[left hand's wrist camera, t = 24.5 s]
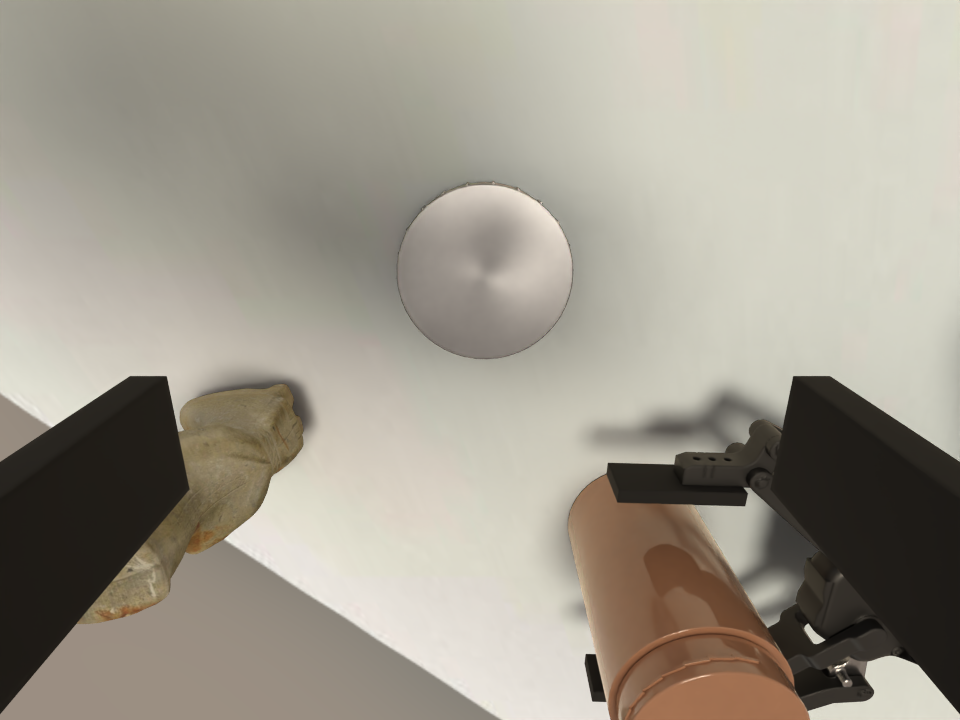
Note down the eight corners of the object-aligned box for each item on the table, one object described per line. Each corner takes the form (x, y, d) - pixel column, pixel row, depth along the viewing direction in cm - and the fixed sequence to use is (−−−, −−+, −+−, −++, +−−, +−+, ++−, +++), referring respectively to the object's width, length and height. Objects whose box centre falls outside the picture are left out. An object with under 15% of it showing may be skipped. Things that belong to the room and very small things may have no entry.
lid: (543, 362, 35) (547, 376, 33) (387, 326, 34) (380, 338, 32) (589, 205, 32) (597, 208, 30) (419, 162, 31) (414, 162, 29)
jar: (568, 470, 37) (622, 669, 23) (698, 465, 37) (835, 663, 23) (567, 575, 40) (614, 812, 26) (688, 571, 40) (804, 808, 25)
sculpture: (184, 380, 35) (-17, 532, 21) (299, 361, 35) (173, 505, 21) (215, 463, 37) (49, 654, 23) (324, 447, 37) (223, 631, 22)
